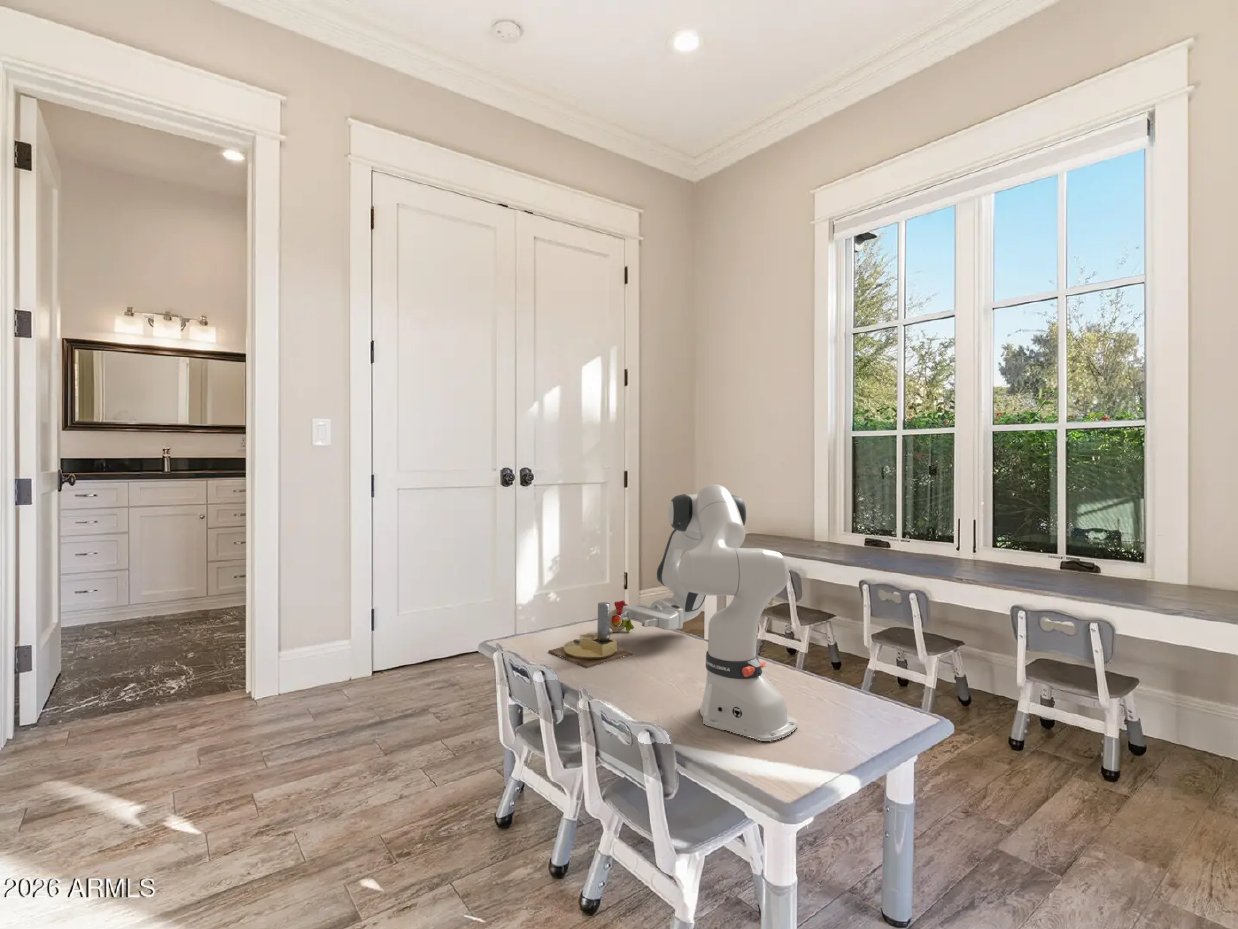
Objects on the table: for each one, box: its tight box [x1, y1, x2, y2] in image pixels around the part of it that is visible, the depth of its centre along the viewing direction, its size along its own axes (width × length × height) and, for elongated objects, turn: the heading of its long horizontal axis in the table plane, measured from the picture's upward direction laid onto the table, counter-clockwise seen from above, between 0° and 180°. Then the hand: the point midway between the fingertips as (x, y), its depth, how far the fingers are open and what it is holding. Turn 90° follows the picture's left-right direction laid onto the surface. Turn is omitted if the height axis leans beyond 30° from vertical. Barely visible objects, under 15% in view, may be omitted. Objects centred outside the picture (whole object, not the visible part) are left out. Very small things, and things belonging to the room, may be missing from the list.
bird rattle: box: [610, 600, 635, 633], centre depth 213 cm, size 6×11×9 cm
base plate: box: [547, 646, 633, 669], centre depth 189 cm, size 18×18×1 cm
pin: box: [596, 601, 611, 644], centre depth 185 cm, size 4×4×14 cm
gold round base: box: [563, 632, 618, 660], centre depth 189 cm, size 17×16×4 cm
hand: (632, 620), depth 193 cm, fingers open, 8 cm apart
